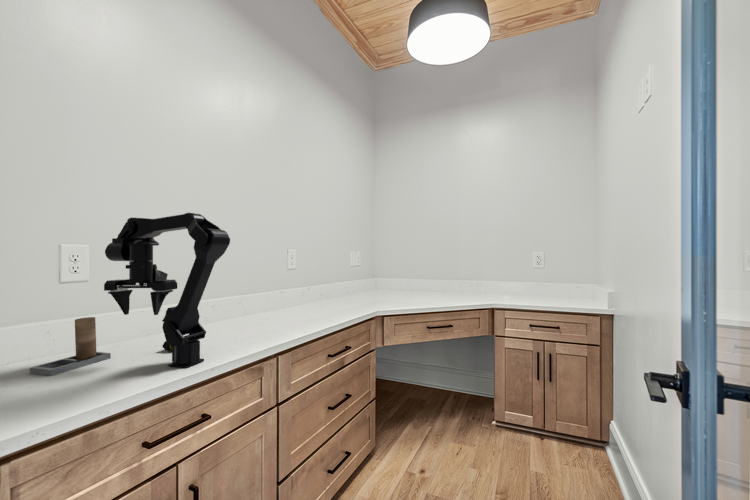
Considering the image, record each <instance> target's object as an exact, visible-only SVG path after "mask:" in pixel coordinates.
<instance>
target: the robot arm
mask: <svg viewBox="0 0 750 500" xmlns="http://www.w3.org/2000/svg"><path fill="white" fill-rule="evenodd" d="M181 230H187V232H188V235H189V236H190V238H192V239H193V241H194V245H193V251H194V254H195V260H194V261H193V264H192V266H191V269H190V273H189V275H188V278H187V281H186V283H185V286H184V288H183V291H182V293H181V296H180V298H179V301H178V303H177V305H176V306H171V307H168V308H167V309H166V311H165V314H164V315H165V316H164V317H163V319H162V320H161V321H162V330H163V334H164V338H165V341H166V342H167V345H171V346H173V347H172V350H171V361H172V362H169V363H168V364H167V365H168V367H175V368H185V369H186V368H189V367H192V366H194V365H197V364H199V363H202V362H204V361H205V358H201V341H200V340H202V339H205V337H206V334H207V331H206V330H205V328H204V327H203V326H202V325H201V323H200V321H199V320H200V317H201V316H200V312H199V305H200V303H201V300H202V298H203V294H204V292H205V290H206V287H207V284H208V281H209V279H210V276H211V274H212V271H213V268H214V267H215V264H216V262H217V261H218V260H219V259H220V258H221V257H222V256H223V255H225V253H226V252H227V249H228V247H229V246H230V244H231V237H230V236H229V234H228V232H227V231H225V230H224V229H221V227H219V226H218V225H216V224H214V223H212V222H211V221H209V220H208V219H207V218H206V217H205V216H204V215H202V214H200V213H195V212H186V213H182V214H175V215H171V216H165V217H164V216H163V217H158V218H144V217H129V218H128V219H126V222H125V223H124V225H123V227H122V229H121V230H120V232H119V233H118V234H117V237H116V238H113V237H112V239H111V241H112V242H110V243H109V244H107V246H106V248H105V249H104V254H105V257H106V259H108V260H109V261H112V262H128V264H125V269H129V270H128V271H129V274H128V277H129V278H126V279H111V280H107V281H105V282H104V284H103V291H105V292H106V291H107V294H108V295H109V294H110V295H111V296H112V298H113V300H115V302H116V303H117V304H118V307H119V308H120V310H121V311H122V313H123V315H124V316H126V315H129V314H130V300H131V299H130V297H131V295H132V292H133V290H134V289H152V291H150V300H151V306H152V312H153V315H154V316H157V315H158V314H159V313H160V311H161V308H162V305H163V303H164V301H165V299H166V297H167V296H168V295H169V294H170V293H172V292H174V290H177V289H178V282H177V281H176V279H167V278H168V276H169V274H168V273H166V272H164V271H162V270H158V266H157V263H156V264H154V246H159V245H160V242H158V241H156V240H155V238H156V237H158V236H160V235H162V234H163V233H169V232H175V231H181Z"/></svg>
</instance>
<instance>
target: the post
mask: <svg viewBox="0 0 750 500" xmlns="http://www.w3.org/2000/svg"><path fill="white" fill-rule="evenodd" d="M96 329H97V327H96V317H94V316H90V317H89V316H88V317H80V318H77V319H74V339H75V356H76V359H77V360H85V359H89V358H92V357H96V356H97V354H96V352H97V333H96V332H97V331H96Z"/></svg>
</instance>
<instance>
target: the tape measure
mask: <svg viewBox="0 0 750 500" xmlns="http://www.w3.org/2000/svg"><path fill="white" fill-rule="evenodd" d="M172 347H173V346H171V345H167V342H166V340H165V341H164V342H163V344H162V348H163V349H164V351H172Z"/></svg>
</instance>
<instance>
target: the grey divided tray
mask: <svg viewBox="0 0 750 500" xmlns="http://www.w3.org/2000/svg"><path fill="white" fill-rule="evenodd" d="M96 354H97V356H96V357H92V358H89V359H85V360H77V359H76V355H73V356H68V357H65V358H61V359H57V360H54V361H50V362H46V363H43V364H39V365H35V366H31V367H29V374H31V375H41V376H46V377H47V376H48V377H52V376H55V375H58V374H62V373H65V372H69V371H72V370H75V369H79V368H81V367H86V366H88V365H89V366H90V365H93V364H95V363H96V364H97V363H99V362H101V361H103V362H104V361H105V360H106V361H107V360H108V359H111V357H112V355H111V352H103V351H96Z"/></svg>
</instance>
